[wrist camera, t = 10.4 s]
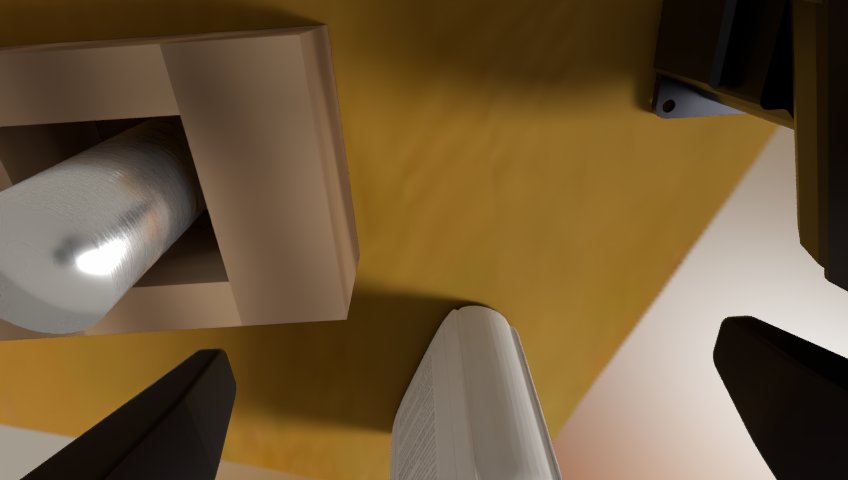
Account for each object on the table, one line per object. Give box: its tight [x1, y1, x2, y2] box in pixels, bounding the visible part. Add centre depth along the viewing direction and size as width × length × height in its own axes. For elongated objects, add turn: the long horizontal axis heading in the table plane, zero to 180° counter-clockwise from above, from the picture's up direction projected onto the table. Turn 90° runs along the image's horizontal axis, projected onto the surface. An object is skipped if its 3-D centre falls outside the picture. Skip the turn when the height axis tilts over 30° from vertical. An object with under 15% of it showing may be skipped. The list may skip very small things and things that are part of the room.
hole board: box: [0, 25, 360, 341], centre depth 18 cm, size 14×10×5 cm
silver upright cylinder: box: [0, 115, 207, 334], centre depth 16 cm, size 4×4×9 cm
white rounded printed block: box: [390, 306, 562, 480], centre depth 21 cm, size 10×4×12 cm, turn 159°
